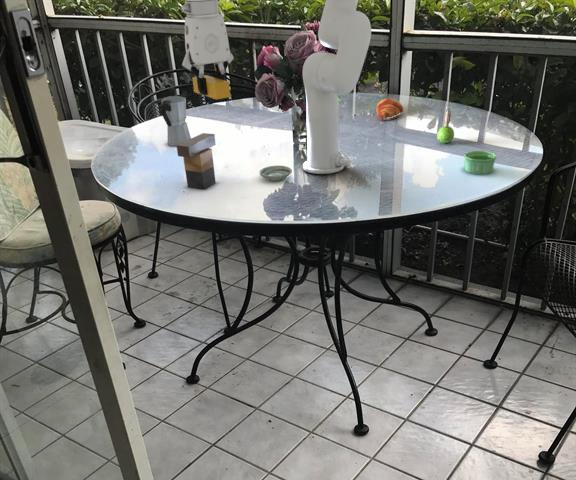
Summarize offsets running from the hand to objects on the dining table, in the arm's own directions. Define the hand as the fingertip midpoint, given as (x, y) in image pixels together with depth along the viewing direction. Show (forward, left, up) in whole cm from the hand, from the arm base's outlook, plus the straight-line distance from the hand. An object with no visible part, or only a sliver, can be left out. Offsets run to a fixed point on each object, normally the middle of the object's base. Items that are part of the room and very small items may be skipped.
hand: (211, 91), depth 155 cm
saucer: (-6, -19, -27) cm, 34 cm away
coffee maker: (+45, -39, -27) cm, 65 cm away
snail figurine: (-42, -70, -27) cm, 86 cm away
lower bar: (+12, -6, -17) cm, 22 cm away
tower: (+12, -6, -27) cm, 30 cm away
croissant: (-12, -98, -27) cm, 103 cm away
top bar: (0, 0, -1) cm, 1 cm away
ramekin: (-59, -47, -27) cm, 81 cm away
